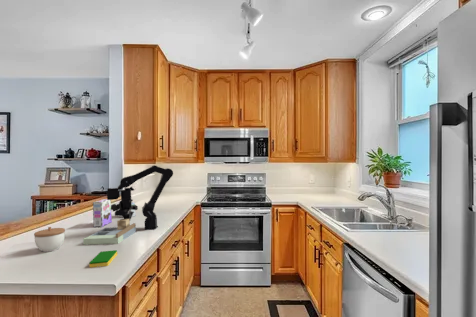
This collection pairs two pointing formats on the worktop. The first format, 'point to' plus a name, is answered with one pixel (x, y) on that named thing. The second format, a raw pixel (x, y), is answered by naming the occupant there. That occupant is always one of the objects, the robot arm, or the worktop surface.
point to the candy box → (102, 213)
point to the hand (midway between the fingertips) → (127, 224)
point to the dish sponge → (103, 258)
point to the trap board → (110, 235)
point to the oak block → (123, 223)
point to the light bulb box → (132, 210)
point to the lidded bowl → (49, 239)
